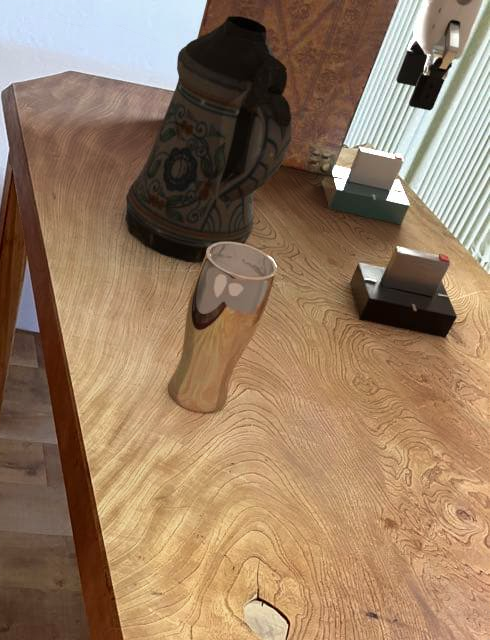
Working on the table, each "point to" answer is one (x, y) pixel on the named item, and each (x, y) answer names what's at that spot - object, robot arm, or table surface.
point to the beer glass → (220, 322)
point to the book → (316, 64)
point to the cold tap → (375, 168)
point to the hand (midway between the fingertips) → (412, 95)
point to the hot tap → (415, 271)
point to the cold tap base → (364, 197)
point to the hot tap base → (400, 304)
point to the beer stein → (213, 144)
